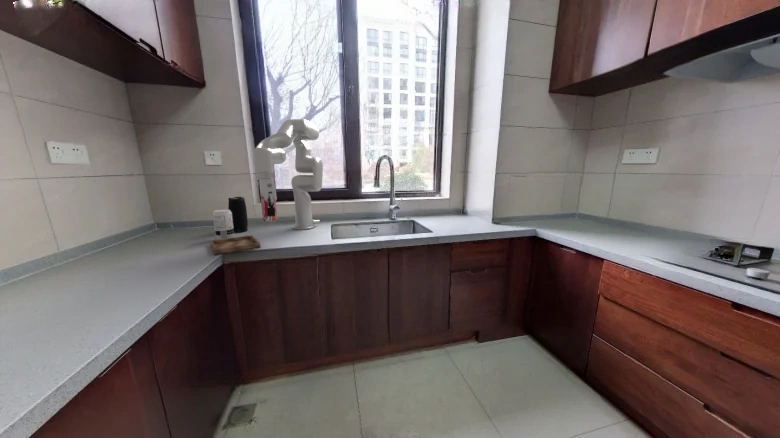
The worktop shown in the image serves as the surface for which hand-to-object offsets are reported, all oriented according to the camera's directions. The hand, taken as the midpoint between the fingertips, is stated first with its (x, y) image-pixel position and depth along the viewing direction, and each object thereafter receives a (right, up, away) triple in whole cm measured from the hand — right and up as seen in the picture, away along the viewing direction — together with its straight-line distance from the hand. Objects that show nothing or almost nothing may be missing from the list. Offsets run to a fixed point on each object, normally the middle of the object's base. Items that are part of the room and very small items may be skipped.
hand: (269, 214), depth 127 cm
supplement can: (-28, -13, +12) cm, 33 cm away
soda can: (0, -3, +1) cm, 3 cm away
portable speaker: (-30, -9, +29) cm, 43 cm away
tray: (-16, -15, 0) cm, 22 cm away
